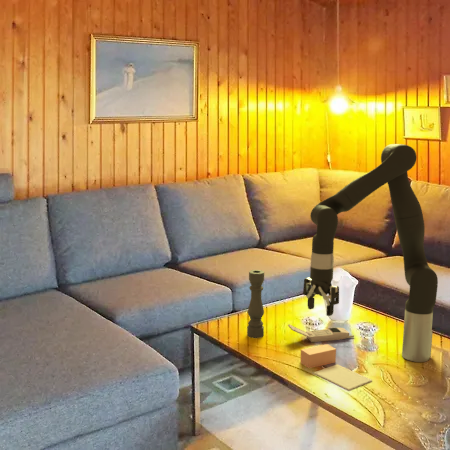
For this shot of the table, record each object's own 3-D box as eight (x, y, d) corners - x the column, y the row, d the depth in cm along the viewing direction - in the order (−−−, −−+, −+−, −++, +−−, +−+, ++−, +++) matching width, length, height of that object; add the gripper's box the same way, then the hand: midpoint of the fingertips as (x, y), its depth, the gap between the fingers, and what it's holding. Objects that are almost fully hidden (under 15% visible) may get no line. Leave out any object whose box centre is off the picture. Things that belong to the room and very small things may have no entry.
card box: (326, 357, 219) (327, 344, 218) (335, 362, 215) (336, 349, 214) (300, 363, 214) (300, 349, 213) (308, 368, 210) (309, 354, 209)
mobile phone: (287, 324, 235) (348, 318, 241) (286, 339, 236) (348, 333, 242) (292, 330, 229) (355, 324, 235) (292, 345, 230) (354, 339, 236)
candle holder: (245, 333, 241) (246, 270, 236) (260, 331, 243) (261, 269, 238) (250, 339, 235) (251, 274, 230) (265, 337, 237) (267, 273, 232)
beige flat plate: (337, 365, 212) (337, 364, 212) (371, 381, 201) (372, 379, 201) (313, 373, 206) (313, 372, 206) (348, 390, 194) (348, 389, 194)
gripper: (345, 268, 204) (343, 315, 208) (314, 259, 216) (312, 304, 219) (329, 271, 200) (327, 320, 203) (298, 262, 211) (297, 308, 214)
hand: (320, 312), depth 211 cm, fingers open, 8 cm apart
